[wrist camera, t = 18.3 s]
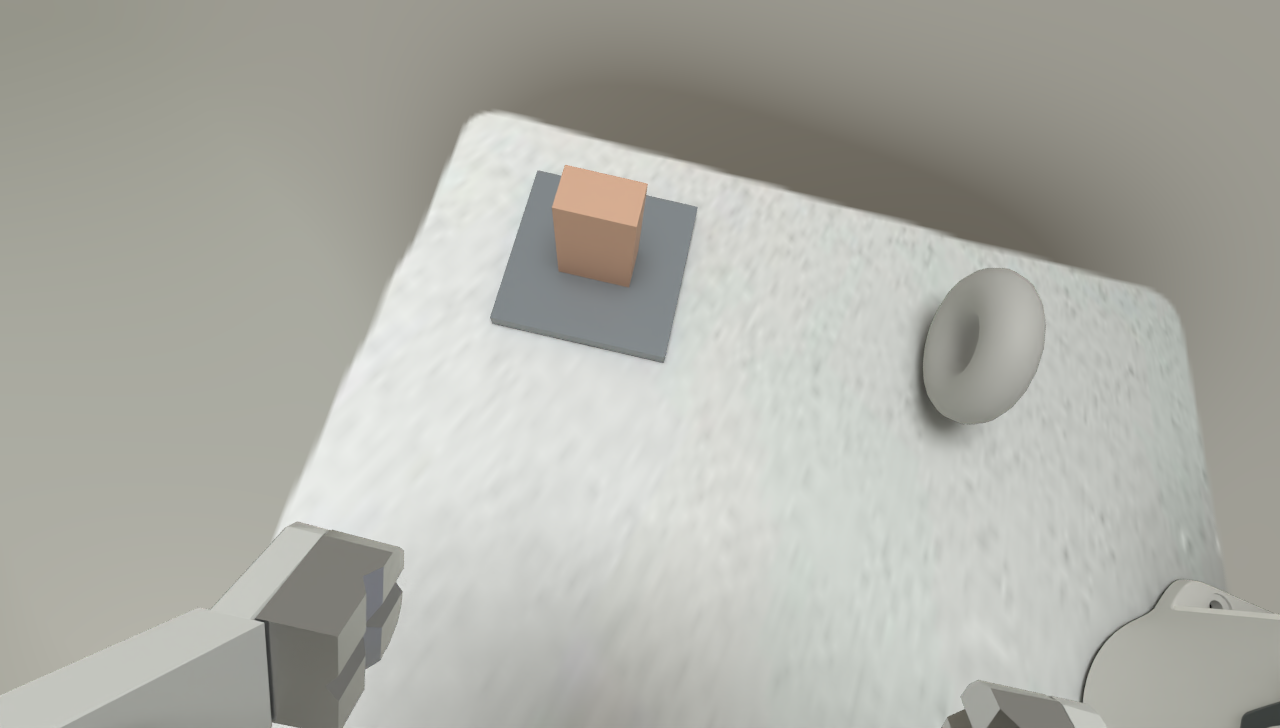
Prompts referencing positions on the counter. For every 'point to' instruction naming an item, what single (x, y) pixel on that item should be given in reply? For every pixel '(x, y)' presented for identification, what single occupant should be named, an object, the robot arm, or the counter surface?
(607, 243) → the block
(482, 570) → the counter surface
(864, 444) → the counter surface
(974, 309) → the donut
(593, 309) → the coaster
